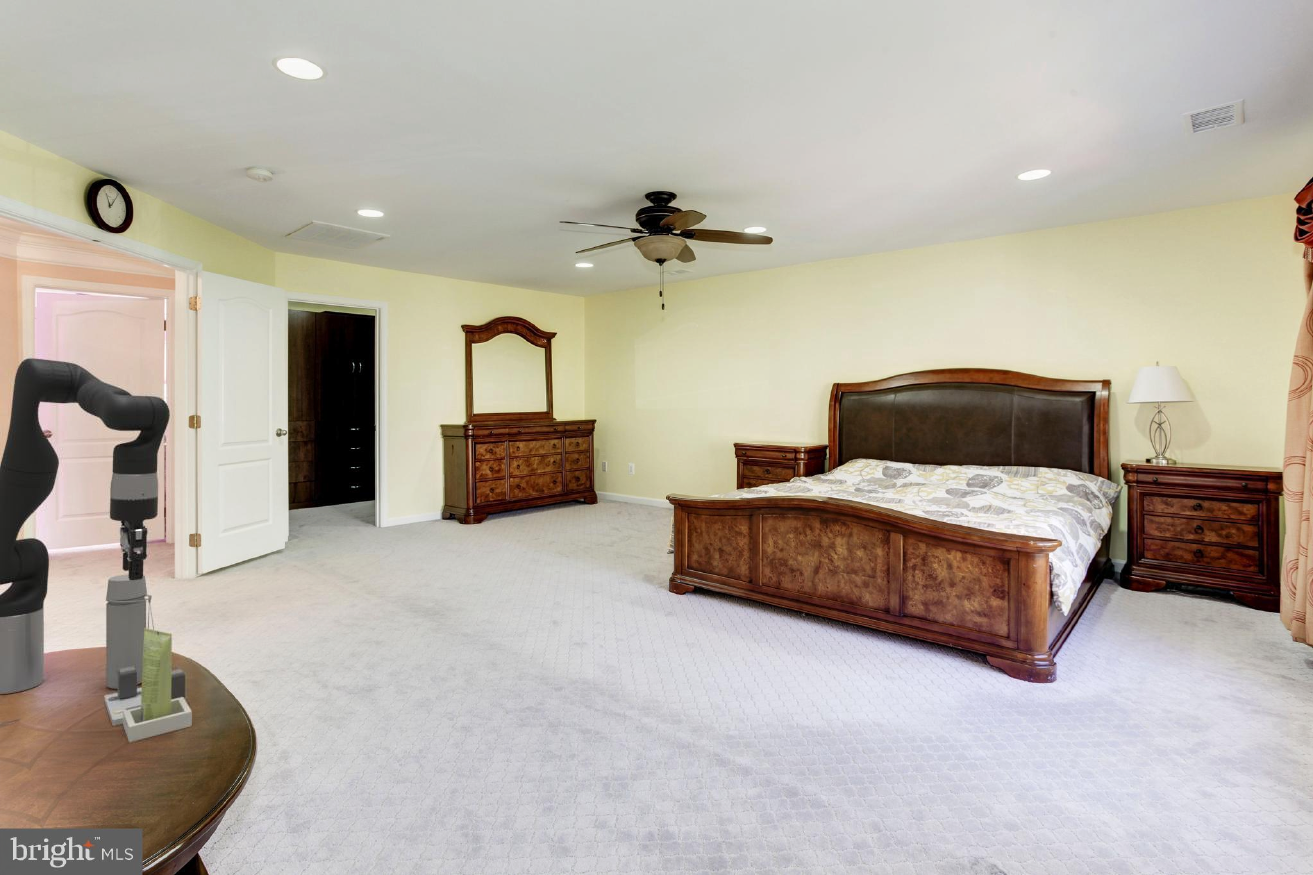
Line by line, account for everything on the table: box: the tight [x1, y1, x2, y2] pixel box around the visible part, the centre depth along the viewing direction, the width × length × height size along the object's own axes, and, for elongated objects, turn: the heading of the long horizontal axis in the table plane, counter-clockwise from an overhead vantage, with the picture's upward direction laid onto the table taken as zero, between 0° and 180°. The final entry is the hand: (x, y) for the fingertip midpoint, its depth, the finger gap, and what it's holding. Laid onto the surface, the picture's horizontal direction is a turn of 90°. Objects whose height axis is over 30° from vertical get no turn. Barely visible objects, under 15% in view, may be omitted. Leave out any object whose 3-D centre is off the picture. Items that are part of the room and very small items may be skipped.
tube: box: [141, 627, 173, 722], centre depth 133 cm, size 6×5×20 cm
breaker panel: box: [104, 687, 142, 727], centre depth 142 cm, size 15×12×2 cm
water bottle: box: [105, 573, 155, 690], centre depth 151 cm, size 9×8×25 cm
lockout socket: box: [122, 697, 193, 743], centre depth 133 cm, size 9×10×3 cm
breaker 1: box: [116, 666, 138, 699], centre depth 143 cm, size 3×3×6 cm
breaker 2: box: [171, 668, 186, 700], centre depth 142 cm, size 3×3×6 cm
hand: (132, 574), depth 132 cm, fingers open, 8 cm apart
